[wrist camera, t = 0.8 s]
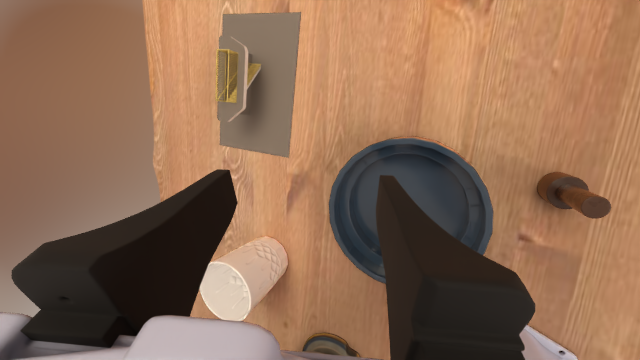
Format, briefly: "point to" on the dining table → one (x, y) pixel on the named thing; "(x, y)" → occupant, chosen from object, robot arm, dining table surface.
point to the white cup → (243, 278)
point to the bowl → (420, 184)
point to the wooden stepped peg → (572, 195)
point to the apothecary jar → (328, 345)
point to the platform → (257, 80)
